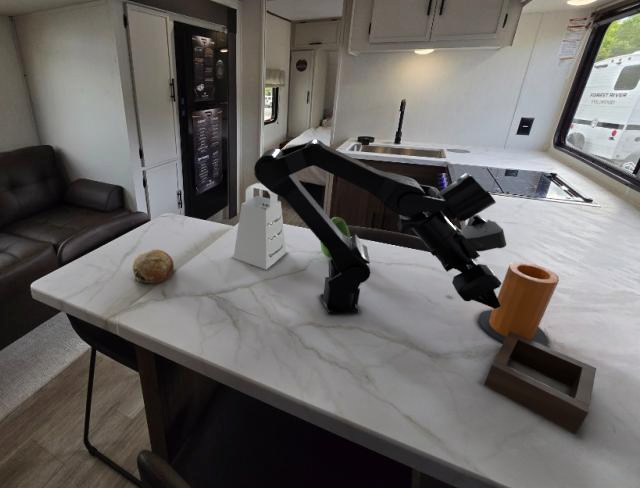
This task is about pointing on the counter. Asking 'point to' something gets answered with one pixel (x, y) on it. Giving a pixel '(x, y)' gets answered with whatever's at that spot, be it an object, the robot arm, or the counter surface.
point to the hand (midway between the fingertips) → (487, 292)
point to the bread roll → (153, 266)
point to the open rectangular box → (537, 394)
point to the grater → (260, 229)
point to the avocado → (341, 226)
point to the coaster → (486, 326)
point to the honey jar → (523, 299)
